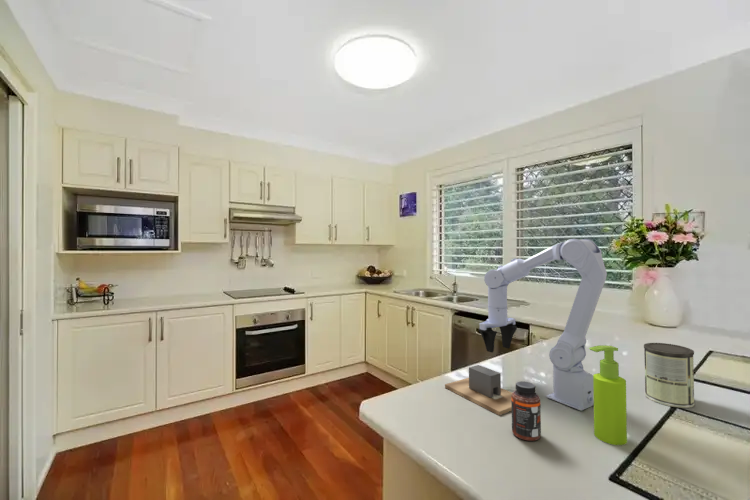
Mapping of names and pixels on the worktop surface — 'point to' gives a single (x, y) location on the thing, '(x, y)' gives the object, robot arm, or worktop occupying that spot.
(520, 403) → the supplement bottle
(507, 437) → the worktop surface
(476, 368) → the block
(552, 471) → the worktop surface
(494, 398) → the pin board
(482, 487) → the worktop surface
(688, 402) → the coffee can
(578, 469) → the worktop surface
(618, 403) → the soap dispenser
